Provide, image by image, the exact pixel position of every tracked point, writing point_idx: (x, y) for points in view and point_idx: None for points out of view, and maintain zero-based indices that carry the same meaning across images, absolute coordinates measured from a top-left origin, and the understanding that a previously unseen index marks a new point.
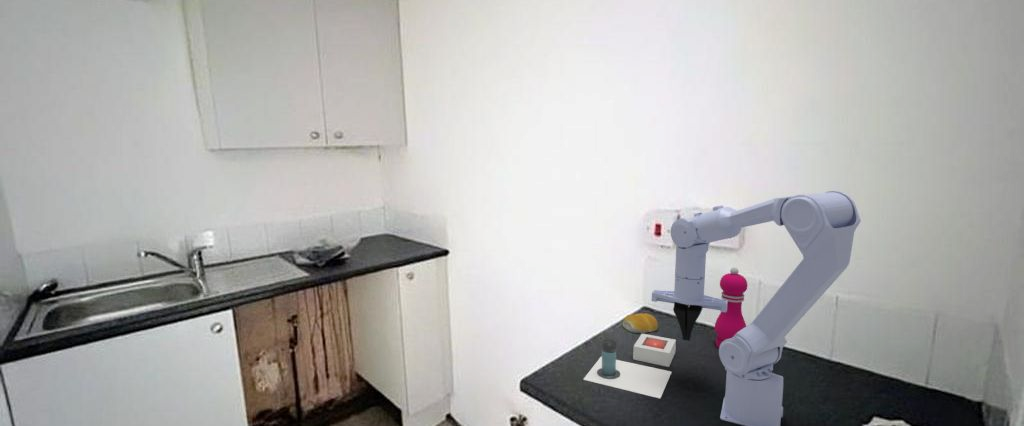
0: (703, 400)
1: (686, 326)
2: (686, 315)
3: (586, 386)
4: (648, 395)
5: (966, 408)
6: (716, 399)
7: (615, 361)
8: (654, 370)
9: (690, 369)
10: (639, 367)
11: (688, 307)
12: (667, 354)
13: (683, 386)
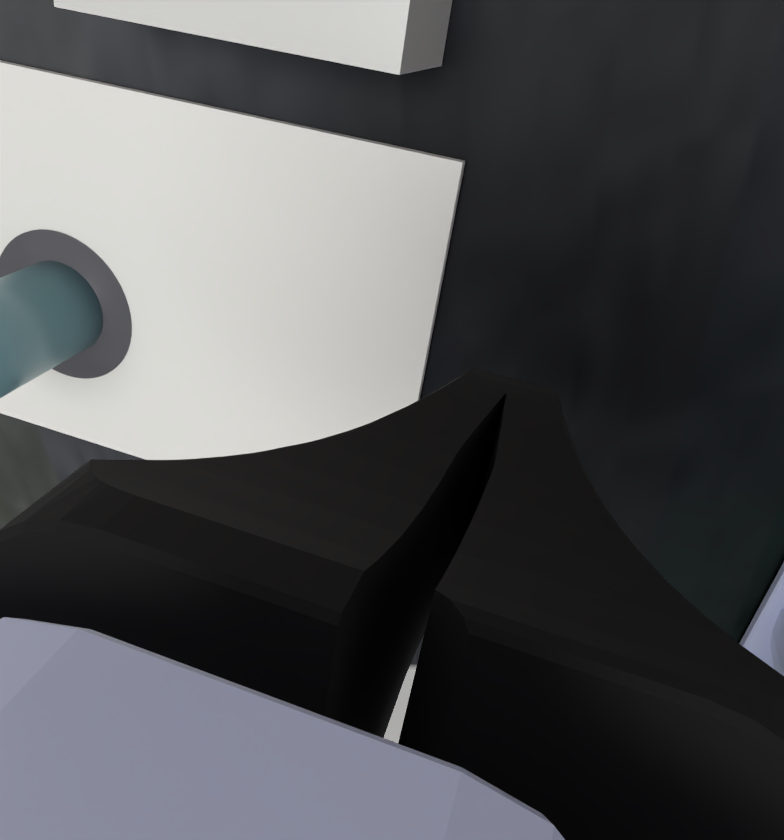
0: (660, 509)
1: (447, 545)
2: (372, 729)
3: (24, 453)
4: None
5: None
6: (761, 488)
7: (35, 356)
8: (327, 181)
9: (646, 21)
10: (216, 158)
11: (375, 616)
12: (385, 71)
13: (544, 356)
